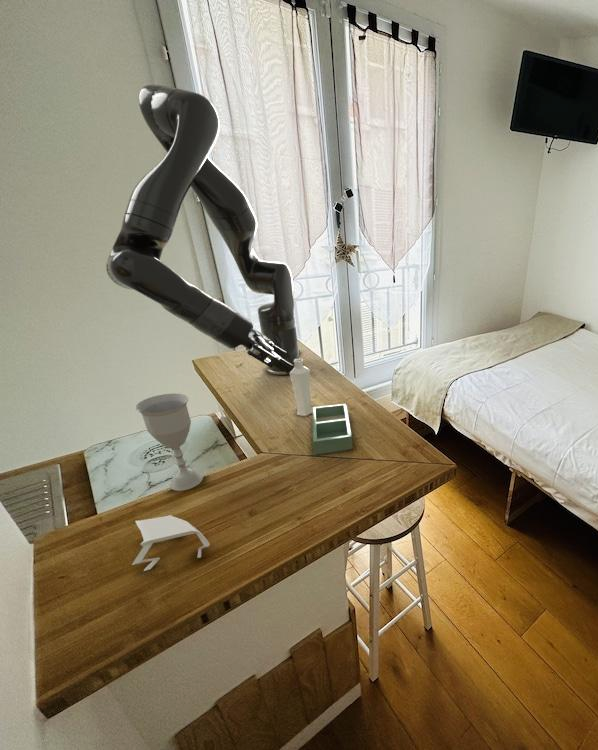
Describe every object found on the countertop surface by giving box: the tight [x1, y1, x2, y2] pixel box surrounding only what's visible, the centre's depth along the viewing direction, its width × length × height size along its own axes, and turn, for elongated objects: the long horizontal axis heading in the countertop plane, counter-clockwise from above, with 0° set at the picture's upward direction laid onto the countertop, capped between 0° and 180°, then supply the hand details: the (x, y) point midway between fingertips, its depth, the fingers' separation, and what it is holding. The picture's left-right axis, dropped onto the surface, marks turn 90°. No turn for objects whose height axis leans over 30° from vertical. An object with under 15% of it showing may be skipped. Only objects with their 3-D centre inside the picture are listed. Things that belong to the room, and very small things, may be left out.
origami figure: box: [131, 514, 211, 572], centre depth 63 cm, size 12×8×5 cm
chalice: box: [135, 393, 204, 492], centre depth 74 cm, size 7×7×18 cm
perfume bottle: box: [289, 357, 312, 417], centre depth 101 cm, size 5×4×15 cm
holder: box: [311, 403, 354, 456], centre depth 96 cm, size 15×8×4 cm, turn 23°
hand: (287, 363), depth 96 cm, fingers open, 8 cm apart
